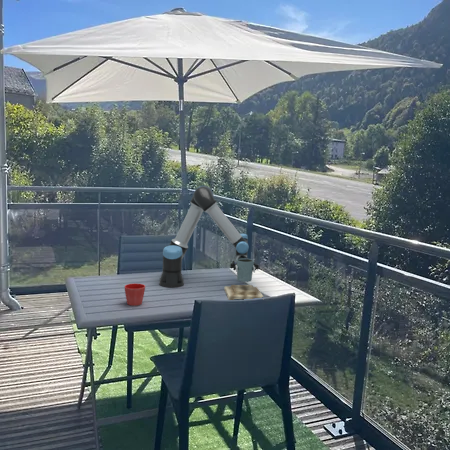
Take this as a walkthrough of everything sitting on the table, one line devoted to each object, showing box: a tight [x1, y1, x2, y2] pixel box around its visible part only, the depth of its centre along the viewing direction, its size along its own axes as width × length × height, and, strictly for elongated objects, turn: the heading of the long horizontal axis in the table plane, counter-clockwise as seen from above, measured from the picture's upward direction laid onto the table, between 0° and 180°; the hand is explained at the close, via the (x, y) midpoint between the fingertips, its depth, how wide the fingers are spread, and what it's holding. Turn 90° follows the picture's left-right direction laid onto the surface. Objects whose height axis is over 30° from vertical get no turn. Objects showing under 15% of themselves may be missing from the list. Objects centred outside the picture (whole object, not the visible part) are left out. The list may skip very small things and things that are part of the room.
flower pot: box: [124, 283, 146, 307], centre depth 239 cm, size 11×11×10 cm
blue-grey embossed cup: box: [236, 258, 255, 283], centre depth 263 cm, size 10×10×12 cm
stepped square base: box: [223, 284, 264, 301], centre depth 265 cm, size 20×20×4 cm
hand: (245, 270), depth 259 cm, fingers closed on blue-grey embossed cup, 9 cm apart
